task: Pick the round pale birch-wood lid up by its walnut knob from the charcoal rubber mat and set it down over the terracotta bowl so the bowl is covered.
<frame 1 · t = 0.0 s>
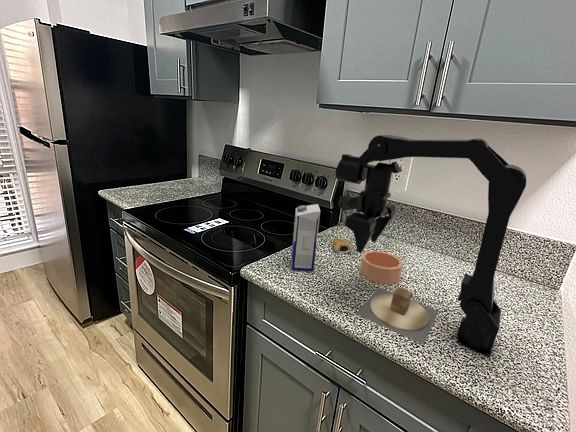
hand: (366, 246, 80), 15 cm above the worktop, fingers open, 9 cm apart
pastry: (340, 249, 113), on the worktop
mat: (397, 314, 78), on the worktop
bowl: (378, 275, 96), on the worktop
milk carton: (301, 266, 99), on the worktop
lid: (398, 312, 78), point 1 cm above the worktop, touching mat
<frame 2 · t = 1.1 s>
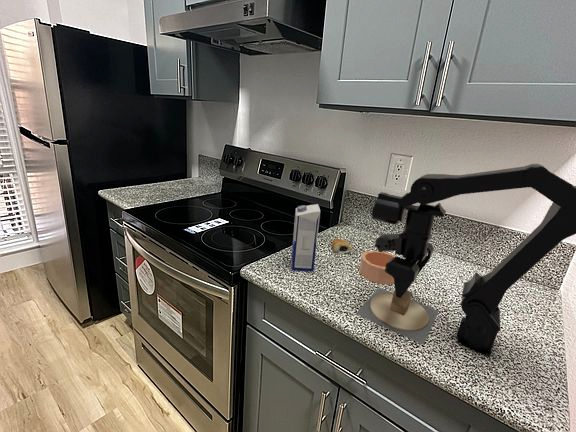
hand: (404, 289, 76), 7 cm above the worktop, fingers open, 9 cm apart
nothing on the worktop moved.
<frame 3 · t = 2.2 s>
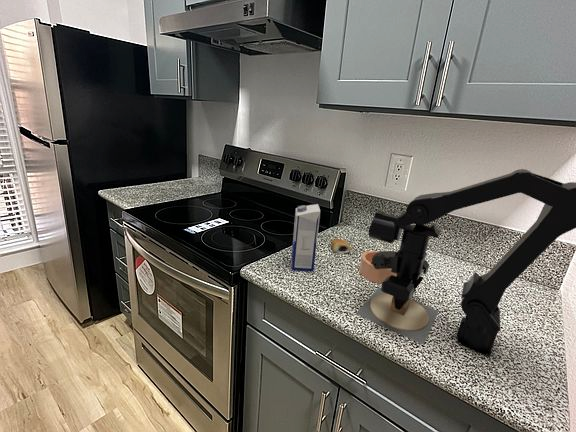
hand: (400, 305, 77), 3 cm above the worktop, fingers closed on lid, 3 cm apart
lid: (398, 312, 78), point 1 cm above the worktop, touching gripper, mat
everything else where it was.
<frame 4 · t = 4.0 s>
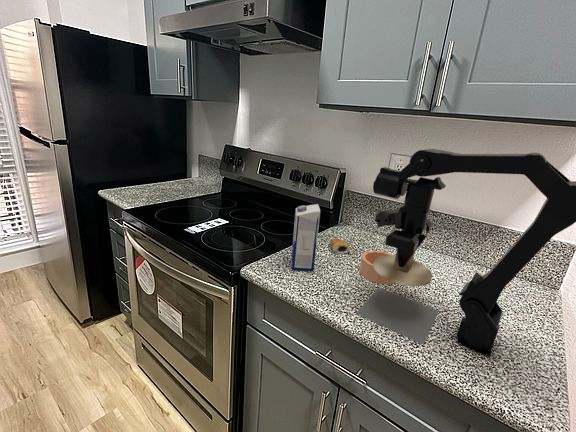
hand: (403, 263, 77), 13 cm above the worktop, fingers closed on lid, 3 cm apart
lid: (401, 270, 78), point 11 cm above the worktop, touching gripper
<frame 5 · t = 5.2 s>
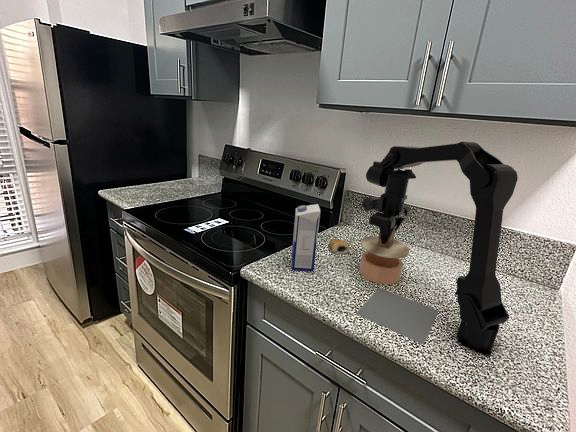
hand: (385, 241, 93), 11 cm above the worktop, fingers closed on lid, 3 cm apart
lid: (384, 247, 93), point 10 cm above the worktop, touching gripper
when the fingers open (9 cm above the worktop, at t = 5.8 s): lid drops 1 cm, resting on bowl.
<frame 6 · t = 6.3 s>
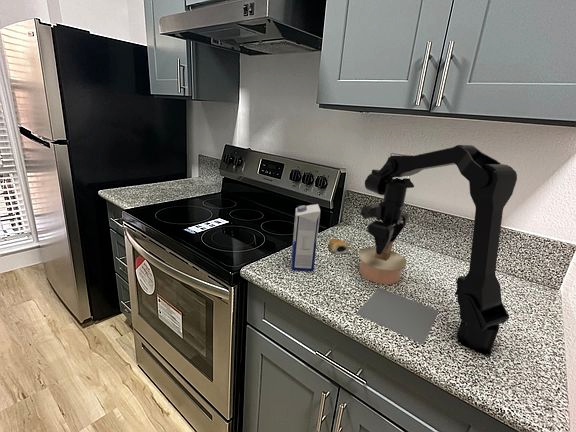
hand: (384, 249, 94), 9 cm above the worktop, fingers open, 9 cm apart
lid: (381, 259, 95), point 5 cm above the worktop, touching bowl
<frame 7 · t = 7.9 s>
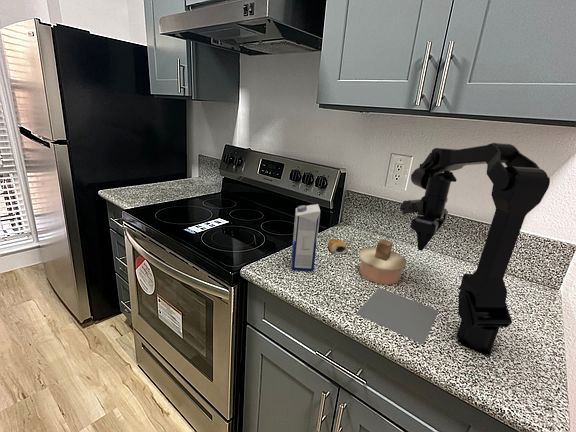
hand: (423, 245, 91), 12 cm above the worktop, fingers open, 9 cm apart
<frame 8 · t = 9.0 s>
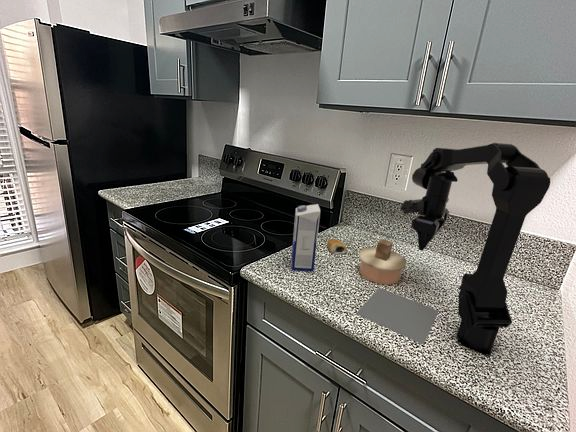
hand: (424, 245, 91), 12 cm above the worktop, fingers open, 9 cm apart
at the end: lid 0.0 cm off-centre on the bowl, point 5.5 cm above the bowl's base; lid tilted 0°; the gripper is holding nothing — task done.
